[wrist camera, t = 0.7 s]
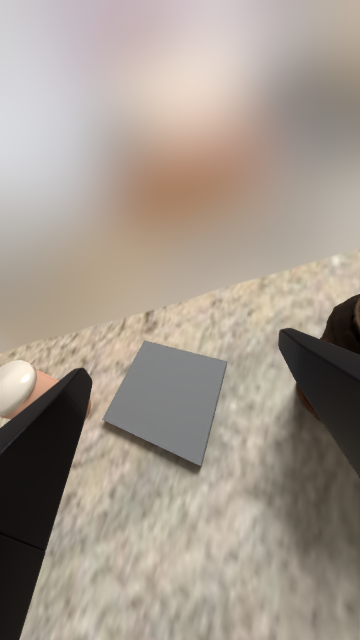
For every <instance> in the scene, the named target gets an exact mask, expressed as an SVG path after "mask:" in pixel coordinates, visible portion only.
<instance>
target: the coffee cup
mask: <svg viewBox="0 0 360 640" xmlns="http://www.w3.org/2000/svg"><path fill="white" fill-rule="evenodd" d="M320 340H323V341H325V342H328V343H331V344H333V345H336V346H338V347H341V348H343V349H346V350H348V351H351V352H354V353H356V354H359V355H360V294H358V295H356V296H353V297H351V298H349V299H348V300H346V301H345V302H343V303H341V304H339V305H337V306H336V307H334V309H333V311H332V313H331V315H330V316H329V318H328V321H327V325H326V329H325V331H324V333H323V335H322V337H321V338H320ZM297 391H298V396H299V398H300V400H301V402H302V403H303V405H304V406H305V407H306V408H307V409H308V410H309V411H310V412H311V413H312V414H313V415H314V416H315V417H317V418H318V419H320V420H321V418H320V417H319V415H318V414H317V412H316V411H315V409H314V408H313V406H312V405H311V403H310V402H309V400H308V399H307V397H306V396H305V394H304V393H303V391H302V390H301V388H300V387H299V385H298V384H297Z"/></svg>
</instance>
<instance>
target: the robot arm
mask: <svg viewBox="0 0 360 640" xmlns="http://www.w3.org/2000/svg"><path fill="white" fill-rule="evenodd" d="M278 346H279V349H280V351H281V353H282V355H283V357H284V359H285V361H286V363H287V365H288V367H289V369H290V371H291V373H292V375H293V377H294V379H295V380H296V382H297V384H298V385H299V387H300V388H301V390H302V391H303V393H304V394H305V396H306V397H307V399H308V400H309V402H310V403H311V405H312V406H313V408H314V409H315V411H316V412H317V414H318V415H319V417H320V418H321V420H322V422H323V423H324V425H325V426H326V428H327V429H328V431H329V432H330V434H331V435H332V437H333V438H334V440H335V441H336V443H337V444H338V446H339V447H340V449H341V450H342V452H343V453H344V455H345V456H346V458H347V459H348V461H349V462H350V464H351V465H352V467H353V468H354V470H355V471H356V473H357V474H358V476H359V477H360V355H359V354H356V353H354V352H351V351H348V350H346V349H343V348H341V347H338V346H336V345H333V344H331V343H328V342H325V341H323V340H320V339H318V338H315V337H313V336H310V335H308V334H305V333H303V332H300V331H297V330H295V329H292V328H285V329H281V330H280V331H279V342H278ZM91 388H92V379H91V377H90V376H89V374H88V373H87V371H86V370H85V369H84V368H77V369H74V370H72V371H71V372H70V373H68V374H67V375H66V376H65V377H64V378H62V379H61V380H60V381H59V382H57V383H56V384H55V385H54V386H52V387H51V388H50V389H49V390H47V391H46V392H45V393H44V394H42V395H41V396H40V397H39V398H37V399H36V400H35V401H34V402H32V403H31V404H30V405H29V406H27V407H26V408H25V409H24V410H22V411H21V412H20V413H19V414H17V415H16V416H15V417H14V418H12V419H11V420H10V421H9V422H7V423H6V424H5V425H4V426H3V427H1V428H0V640H19V639H20V636H21V633H22V629H23V626H24V622H25V619H26V616H27V612H28V609H29V606H30V602H31V599H32V596H33V592H34V589H35V586H36V582H37V579H38V576H39V572H40V569H41V566H42V562H43V559H44V556H45V550H46V548H47V545H48V542H49V538H50V535H51V532H52V528H53V525H54V522H55V518H56V515H57V512H58V508H59V505H60V502H61V498H62V495H63V492H64V488H65V485H66V482H67V478H68V475H69V471H70V468H71V465H72V461H73V458H74V455H75V451H76V448H77V445H78V441H79V438H80V435H81V431H82V428H83V425H84V421H85V418H86V414H87V409H88V404H89V399H90V394H91Z"/></svg>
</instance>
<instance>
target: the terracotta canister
mask: <svg viewBox="0 0 360 640" xmlns="http://www.w3.org/2000/svg"><path fill="white" fill-rule="evenodd" d="M57 382H59V381H58V380H56V379H54V378H52V377H50V376H48V375H46V374H44V373H42V372H40V371H38V370H37V369H35V367H34V366H32V365H31V364H29V363H27V362H25V361H21V360H16V361H12V362H9V363H7V364H5V365H3V366H1V367H0V417H2V418H7V419H12V418H14V417H15V416H16V415H17V414H19V413H20V412H21V411H22V410H24V409H25V408H26V407H27V406H29V405H30V404H31V403H32V402H34V401H35V400H36V399H37V398H39V397H40V396H41V395H42V394H44V393H45V392H46V391H47V390H49V389H50V388H51V387H52V386H54V385H55V384H56V383H57ZM90 408H91V402H90V399H89V404H88V409H87V414H86V418H87V416H88V414H89V412H90ZM86 418H85V420H86Z"/></svg>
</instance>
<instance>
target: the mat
mask: <svg viewBox="0 0 360 640" xmlns="http://www.w3.org/2000/svg"><path fill="white" fill-rule="evenodd" d="M226 365H227V361H223V360H219V359H215V358H211V357H207V356H203V355H199V354H196V353H192V352H188V351H184V350H180V349H176V348H172V347H168V346H164V345H160V344H156V343H152V342H148V341H144V342H143V344H142V346H141V348H140V350H139V351H138V353H137V355H136V357H135V359H134V361H133V363H132V365H131V366H130V368H129V370H128V372H127V374H126V376H125V378H124V380H123V381H122V383H121V385H120V387H119V389H118V391H117V393H116V395H115V396H114V398H113V400H112V402H111V404H110V406H109V408H108V410H107V411H106V413H105V415H104V417H103V419H102V420H104V421H106V422H108V423H110V424H113V425H115V426H117V427H119V428H121V429H123V430H125V431H127V432H129V433H132V434H134V435H136V436H138V437H140V438H142V439H144V440H146V441H149V442H151V443H153V444H155V445H157V446H159V447H161V448H163V449H166V450H168V451H170V452H172V453H174V454H176V455H178V456H180V457H182V458H185V459H187V460H189V461H191V462H193V463H195V464H197V465H199V466H202V463H203V458H204V454H205V450H206V446H207V442H208V438H209V434H210V430H211V426H212V422H213V418H214V414H215V410H216V406H217V402H218V398H219V394H220V390H221V386H222V382H223V378H224V374H225V369H226Z"/></svg>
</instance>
